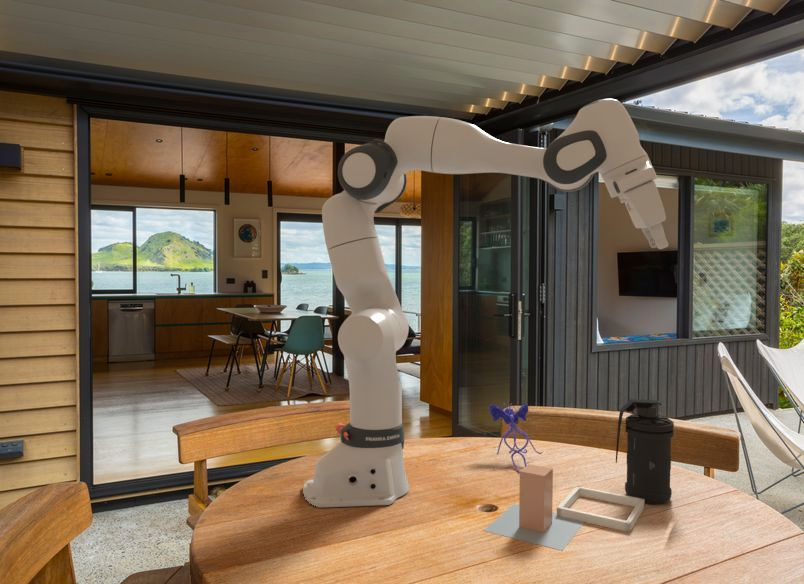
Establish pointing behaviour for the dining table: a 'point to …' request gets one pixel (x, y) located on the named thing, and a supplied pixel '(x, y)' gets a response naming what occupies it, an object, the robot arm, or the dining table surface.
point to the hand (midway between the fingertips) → (660, 247)
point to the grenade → (647, 451)
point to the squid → (511, 419)
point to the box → (599, 519)
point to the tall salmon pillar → (536, 498)
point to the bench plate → (552, 537)
